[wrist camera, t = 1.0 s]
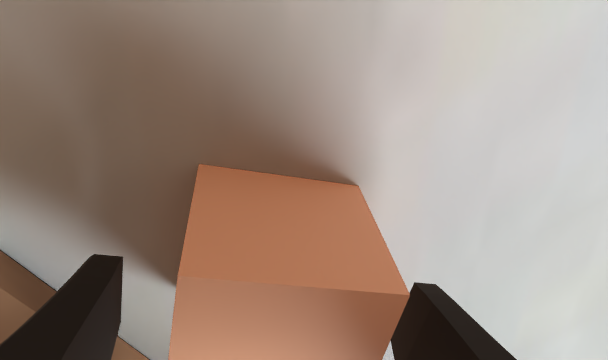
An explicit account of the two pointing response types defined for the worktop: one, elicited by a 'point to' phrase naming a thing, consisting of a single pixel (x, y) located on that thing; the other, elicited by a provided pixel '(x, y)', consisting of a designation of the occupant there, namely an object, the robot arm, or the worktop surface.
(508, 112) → the worktop surface
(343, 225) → the cube
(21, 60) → the worktop surface
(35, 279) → the arena
